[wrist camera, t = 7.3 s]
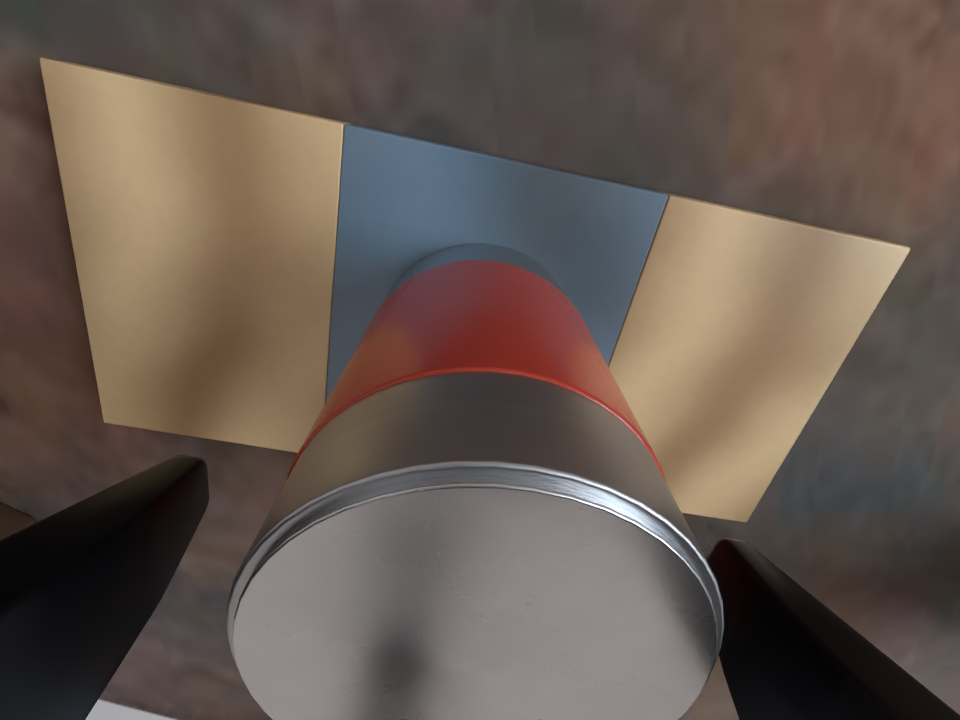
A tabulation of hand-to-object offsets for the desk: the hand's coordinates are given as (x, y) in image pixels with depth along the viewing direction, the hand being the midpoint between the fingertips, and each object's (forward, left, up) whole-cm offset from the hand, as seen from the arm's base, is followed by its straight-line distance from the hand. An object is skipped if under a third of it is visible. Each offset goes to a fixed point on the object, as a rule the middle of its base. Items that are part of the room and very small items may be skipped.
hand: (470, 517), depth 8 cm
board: (0, 0, -9) cm, 9 cm away
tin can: (0, 0, -8) cm, 8 cm away
